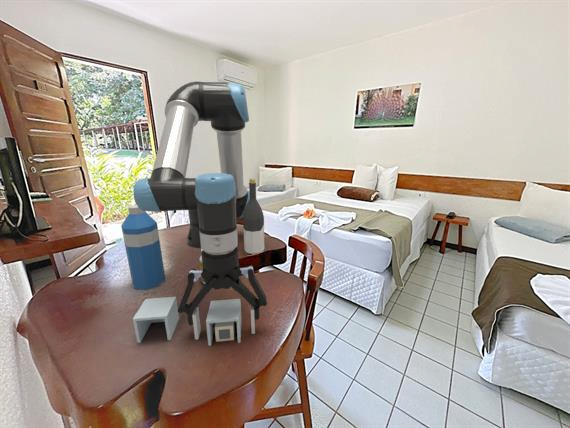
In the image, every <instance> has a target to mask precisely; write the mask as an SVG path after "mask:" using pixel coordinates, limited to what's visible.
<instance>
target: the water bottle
mask: <svg viewBox="0 0 570 428" xmlns="http://www.w3.org/2000/svg"><path fill="white" fill-rule="evenodd" d="M127 208H128V214H127V216H126V217H125V219H124V221H123V222H122V224H121V225H120V227H121V232H122V238H123V242H124V247H125V253H126V258H127V262H128V267H129V268H128V269H129V272H130V273H129V274H130V279H131V283H132V286H133V287H134V289H135V290H146V291H147V290H149V289H152V288H156V287H158V286H160V285H161V284H162V283H163V282H164V281H165V280H166V275H165V267H164V261H163V260H164V259H163V254H162V249H161V241H160V233H159V228H158V223H157V221H156V220H155V219H154V218H153V217H152V216H151V215H150V214H148V212H147V211H143V210H141V209H139V208H138V206H137V205H136V204H132V205H129V206H128V207H127Z"/></svg>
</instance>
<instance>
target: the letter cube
mask: <svg viewBox="0 0 570 428" xmlns="http://www.w3.org/2000/svg"><path fill="white" fill-rule="evenodd" d="M235 331H236V323H235V321H231V322H220V323H216V324H215V328H214V333H215V334H214V335H215V342H226V341H235V333H236V332H235Z"/></svg>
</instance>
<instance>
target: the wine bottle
mask: <svg viewBox="0 0 570 428" xmlns="http://www.w3.org/2000/svg"><path fill="white" fill-rule="evenodd" d="M248 185H249V186H248V189H249V190H248V191H249V193H250V199H249V202H248V203H247V205H246V207H245V210H244V215H243V217H242V224H243V225H242V226H243V244H244V245H243V247H244V250H243V251H244V254H245V253H246V254H247V255H252V254H257V253H260V252H262V251H264V252H265V216H264V212H263V209H262V207H261V205H260V203H259V201H258V200H257V183H256V179H255V178H249V183H248ZM246 254H245V255H246Z"/></svg>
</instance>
